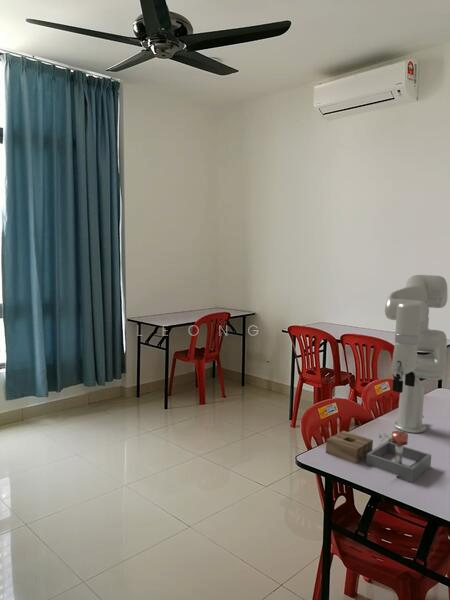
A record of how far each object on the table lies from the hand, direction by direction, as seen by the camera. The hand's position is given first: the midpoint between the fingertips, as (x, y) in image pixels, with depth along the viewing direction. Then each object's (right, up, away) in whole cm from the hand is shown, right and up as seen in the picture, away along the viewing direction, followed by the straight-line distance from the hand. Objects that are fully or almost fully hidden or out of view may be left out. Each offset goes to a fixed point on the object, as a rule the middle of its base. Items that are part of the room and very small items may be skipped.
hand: (403, 388), depth 163 cm
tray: (-1, -28, +3) cm, 28 cm away
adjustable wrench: (0, -26, +22) cm, 34 cm away
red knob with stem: (-1, -27, +3) cm, 27 cm away
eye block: (-16, -26, +11) cm, 33 cm away
